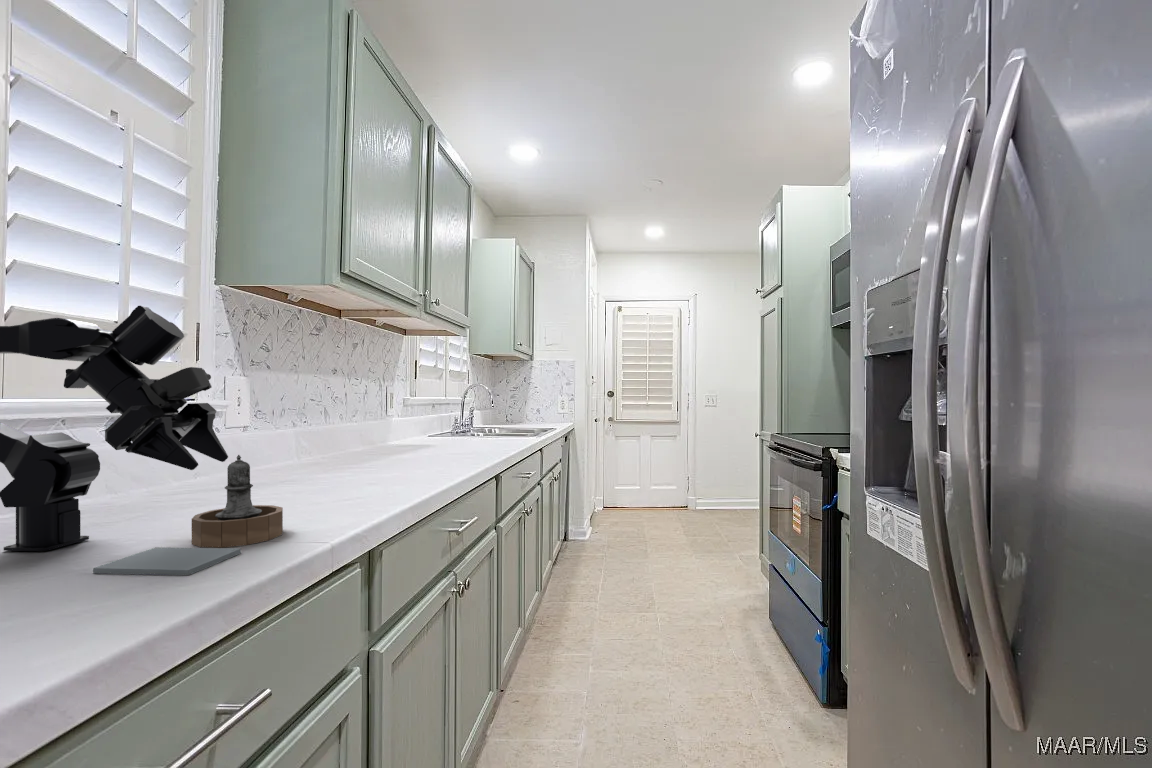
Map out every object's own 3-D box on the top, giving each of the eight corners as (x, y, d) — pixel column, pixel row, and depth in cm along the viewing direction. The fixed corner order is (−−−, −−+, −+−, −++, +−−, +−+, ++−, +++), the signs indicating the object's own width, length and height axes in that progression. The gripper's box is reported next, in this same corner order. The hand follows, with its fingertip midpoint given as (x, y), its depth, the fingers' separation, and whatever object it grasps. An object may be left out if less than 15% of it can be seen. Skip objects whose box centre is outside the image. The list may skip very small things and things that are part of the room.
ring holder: (173, 546, 79) (172, 521, 79) (229, 527, 90) (229, 505, 90) (250, 548, 78) (250, 522, 78) (297, 528, 89) (297, 505, 89)
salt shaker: (241, 543, 80) (240, 457, 81) (205, 541, 82) (204, 456, 82) (271, 533, 86) (270, 452, 86) (237, 531, 87) (237, 452, 88)
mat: (93, 573, 68) (93, 568, 68) (155, 551, 77) (155, 547, 77) (188, 575, 66) (188, 569, 66) (241, 553, 75) (240, 548, 75)
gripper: (130, 342, 74) (224, 427, 75) (202, 352, 92) (276, 420, 94) (61, 405, 72) (158, 490, 74) (148, 402, 91) (224, 470, 92)
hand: (211, 463), depth 83 cm, fingers open, 9 cm apart
